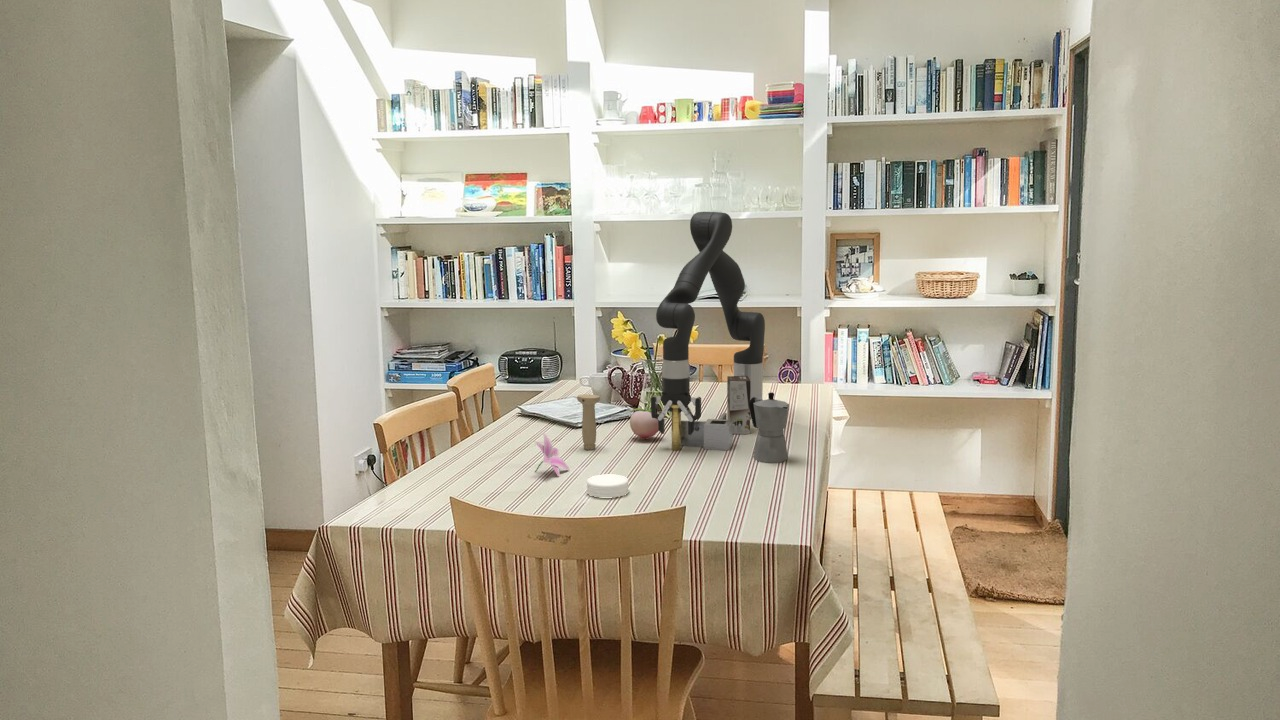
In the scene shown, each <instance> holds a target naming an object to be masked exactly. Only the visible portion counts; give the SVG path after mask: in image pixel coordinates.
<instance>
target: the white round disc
mask: <svg viewBox="0 0 1280 720" xmlns="http://www.w3.org/2000/svg"><path fill="white" fill-rule="evenodd" d="M629 485H630V484H629V479H628V478H627V477H626V476H624V475H621V474H615V473H614V474H613V473H611V474H610V473H609V474H608V473H606V474H596V475H593V476H591V477H588V478H587V480H586V494H587V493H588V494H589V495H592V496H596V497H617V496H622V495H625V494H627V493H628V494H629V491H630V490H629V487H630V486H629ZM588 494H587V495H588ZM628 494H627V495H628ZM589 495H588V496H589ZM625 496H626V495H625Z"/></svg>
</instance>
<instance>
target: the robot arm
mask: <svg viewBox="0 0 1280 720" xmlns="http://www.w3.org/2000/svg"><path fill="white" fill-rule="evenodd" d="M689 228H690V234H691V237H692V239H693V243H694V244H695V246H696V248H697V249H698V251H699V253H698V254H696V255H695V256H694V257H693V258H692V259H691V260H689V261H688V262H687V263H686V264H685V265H684V266H683V268H682V269H681V270H680V273H679V275H678V277H677V280H676V281H675V284H674V286H673V288H672V289H671V290H670V291H669V292H668V294H667V295H666V296H665V297H664V298H663V300H661V302H660V303H659V305H658V307H657V309H656V314H655V319H656V323H657V324H658V325H659V326H660V327H661V328H663V329H676V330H677V332H676V334H675V336H669V337H666V338H664V339H663V342H662V356H663V357H662V364H661V365H662V366H661V367H662V368H661V369H662V370H661V375H662V376H661V377H662V378H661V379H662V380H661V381H662V383H661V384H662V385H661V387H662V388H661V389H662V393H661V395H660V396H657V395H655V394H654V395H652V397H651V398H650V409H651V416H652V418H656V419H657V420H658V430H659V431H658V432H660V434H662V435H663V434H665V431H666V430H665V429H666V428H665V423H666V421H665V416H666V414H667V413H668V412H670V413H671V412H673V408H670V406H671V404H678V406H679V407H680V408H678V412H681V413H683V415H684V416H686V419H687V421H689V422H688V435H691V434H692V433H693V432H694V421H699V420H700V418H701V417H702V397H701V396H697V397H692V396H691V393H690V390H691V389H690V387H691V384H690V378H691V377H690V361H689V360H690V359H689V345H690V339H691V335H692V332H693V329H694V325H695V320H696V312H695V310H694V307H692V305H691V304H692V303H694V302H695V301H696V300H697V299H698V296H699V295H700V294H699V293H700V292H701V289H702V287H703V284H704V282H705V280H706V277H707V275H708V273H709V276H710V280H711V282H712V285H713V288H714V290H715V293H716V294H717V297H718V299H719V303H720V306H721V308H722V311H723V315H724V318H725V323H726V326H727V330H728V332H729V335H730V337H731V339H733V340H735V341H740V342H741V341H742V342H749V345H748V347H747V348H745V349H743V350H739V351H737V352H735V353H733V376H748V377H749V379H750V380H751V388H750V400H751V399H752V398H753V397H756V398H760V399H763V381H764V380H763V378H764V377H763V373H764V371H763V369H764V366H763V364H764V363H763V361H764V351H765V331H766V322H765V318H764V317H765V316H764V315H763V313H762V312H755V311H741V310H740V309H739V306H738V303H739V301H740V299H741V298H742V296H743V294H744V291H745V285H746V283H745V278H744V276H743V272H742V270H741V267H740V266H739V264H738V263H737V262H736V261H735V259H733V258H732V257H731V256H730V255H729V254H728V253H726V251H724V249H725V248H726V245H727V244H728V242H729V240H730V238H731V235H732V232H733V221H732V217H731V216H730V215H729V213H726V212H722V211H719V212H718V211H698V212H695V213H693V215H692V216H691V218H690V223H689ZM660 401H661V403H662V404H663V406H664V407H663V409H662V410H661V412H659V414H658V413H657V412H658V405H659V404H660ZM690 403H692V405H693V406H695V407H694V408H695V410H694V413H695V414H693V413H692V410H691V408H690V407H689V405H690ZM750 419H752V418H751V414H750Z"/></svg>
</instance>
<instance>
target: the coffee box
mask: <svg viewBox="0 0 1280 720" xmlns="http://www.w3.org/2000/svg"><path fill="white" fill-rule="evenodd" d="M726 379H727V381H726V383H727V385H726V386H727V387H726V389H727V391H726V395H727V396H726V397H727V399H726V404H727V406H726V407H727V408H726V413H727V420H733V435H750V433H751V418H750V409H749V401H750V388H751V380H750V379H749V377H748V376H734V375H733V376H732V375H728V376H726Z"/></svg>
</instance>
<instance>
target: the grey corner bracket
mask: <svg viewBox="0 0 1280 720" xmlns="http://www.w3.org/2000/svg"><path fill="white" fill-rule="evenodd" d="M688 422H689V420H683V419H681V446H687V447H703V449H704V450H711V451H712V450H716V451H730V449H731V448H732V446H733V441H734V440H733V435H734V434H733V420H727V412H723V413H722V414H721V416H720V417H719V418H718V419H714V418H711V419H710V418H708V419H706V421H704V420H702V421H701V420H695V421H694V432H693V433H692V434H691V435H688Z"/></svg>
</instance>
